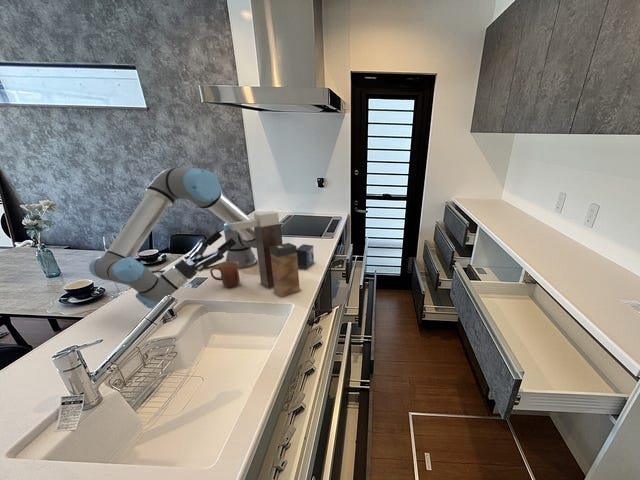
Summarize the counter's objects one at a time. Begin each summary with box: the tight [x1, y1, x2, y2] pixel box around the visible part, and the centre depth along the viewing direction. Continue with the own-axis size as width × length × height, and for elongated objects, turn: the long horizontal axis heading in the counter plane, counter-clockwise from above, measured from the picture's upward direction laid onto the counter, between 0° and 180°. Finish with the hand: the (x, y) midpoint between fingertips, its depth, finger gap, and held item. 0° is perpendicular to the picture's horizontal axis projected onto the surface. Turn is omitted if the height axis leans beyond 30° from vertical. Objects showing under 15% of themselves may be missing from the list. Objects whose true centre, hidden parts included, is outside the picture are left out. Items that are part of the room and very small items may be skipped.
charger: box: [230, 210, 280, 231], centre depth 126 cm, size 20×5×5 cm, turn 135°
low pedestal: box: [270, 253, 301, 298], centre depth 131 cm, size 9×6×18 cm, turn 135°
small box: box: [296, 243, 315, 270], centre depth 161 cm, size 11×6×10 cm, turn 168°
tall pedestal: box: [254, 223, 283, 289], centre depth 136 cm, size 9×7×28 cm
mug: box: [209, 260, 241, 289], centre depth 136 cm, size 12×9×10 cm
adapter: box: [270, 242, 298, 257], centre depth 126 cm, size 9×6×3 cm, turn 135°
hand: (226, 236), depth 120 cm, fingers open, 13 cm apart
